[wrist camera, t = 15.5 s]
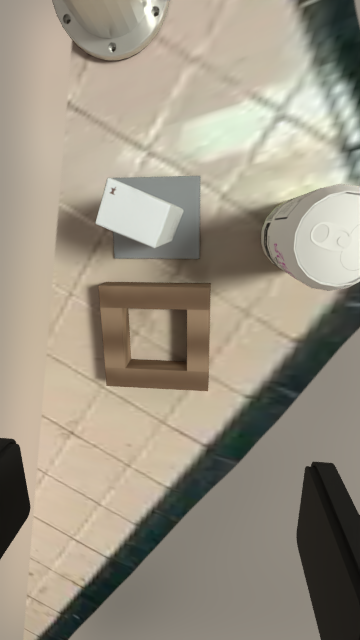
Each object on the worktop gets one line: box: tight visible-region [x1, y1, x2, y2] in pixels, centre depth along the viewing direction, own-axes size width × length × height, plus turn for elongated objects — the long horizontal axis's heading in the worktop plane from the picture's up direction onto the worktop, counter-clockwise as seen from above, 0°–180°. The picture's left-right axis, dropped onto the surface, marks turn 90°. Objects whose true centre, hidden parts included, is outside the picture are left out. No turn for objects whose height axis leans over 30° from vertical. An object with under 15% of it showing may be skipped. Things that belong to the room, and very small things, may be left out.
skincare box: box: [95, 178, 184, 248], centre depth 33 cm, size 6×4×12 cm
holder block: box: [98, 282, 211, 391], centre depth 42 cm, size 14×14×3 cm
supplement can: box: [261, 184, 360, 291], centre depth 31 cm, size 8×8×15 cm
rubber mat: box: [112, 176, 200, 259], centre depth 39 cm, size 10×11×1 cm
